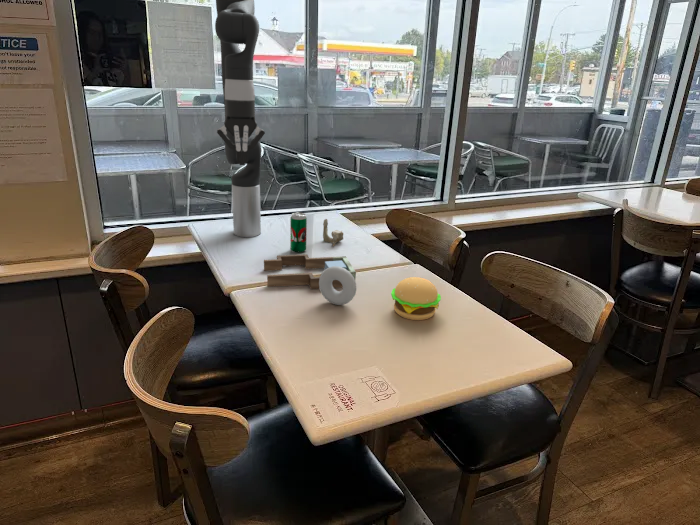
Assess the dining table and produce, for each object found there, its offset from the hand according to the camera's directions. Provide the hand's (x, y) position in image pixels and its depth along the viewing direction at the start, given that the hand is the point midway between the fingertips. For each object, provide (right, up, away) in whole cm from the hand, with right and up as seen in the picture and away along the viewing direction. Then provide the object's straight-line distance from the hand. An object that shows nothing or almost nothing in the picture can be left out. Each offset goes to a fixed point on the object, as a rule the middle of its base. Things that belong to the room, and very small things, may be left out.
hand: (242, 164), depth 135 cm
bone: (+24, -20, +31) cm, 45 cm away
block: (+25, -30, +6) cm, 40 cm away
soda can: (+13, -23, +23) cm, 35 cm away
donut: (+26, -37, -11) cm, 47 cm away
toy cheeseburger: (+45, -39, -13) cm, 61 cm away
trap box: (+18, -30, +4) cm, 36 cm away
